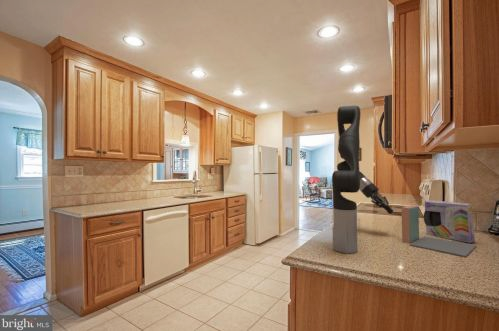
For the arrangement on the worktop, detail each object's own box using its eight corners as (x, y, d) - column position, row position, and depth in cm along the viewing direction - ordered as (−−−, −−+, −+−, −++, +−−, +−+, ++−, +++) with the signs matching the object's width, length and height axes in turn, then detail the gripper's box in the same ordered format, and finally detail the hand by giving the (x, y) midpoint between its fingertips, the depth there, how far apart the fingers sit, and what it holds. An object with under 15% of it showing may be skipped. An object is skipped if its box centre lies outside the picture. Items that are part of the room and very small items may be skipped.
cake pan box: (423, 233, 123) (422, 200, 123) (429, 232, 125) (428, 199, 125) (469, 244, 105) (468, 204, 105) (475, 242, 107) (474, 203, 107)
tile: (410, 243, 106) (409, 208, 107) (402, 241, 109) (401, 207, 109) (419, 238, 114) (418, 205, 114) (411, 237, 116) (410, 204, 117)
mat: (465, 257, 89) (465, 255, 89) (409, 245, 103) (409, 244, 103) (476, 246, 101) (476, 245, 101) (424, 237, 116) (424, 236, 116)
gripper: (365, 183, 122) (392, 209, 112) (377, 182, 130) (402, 206, 120) (356, 192, 126) (380, 218, 116) (367, 191, 134) (391, 215, 124)
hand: (391, 212), depth 118 cm, fingers closed
